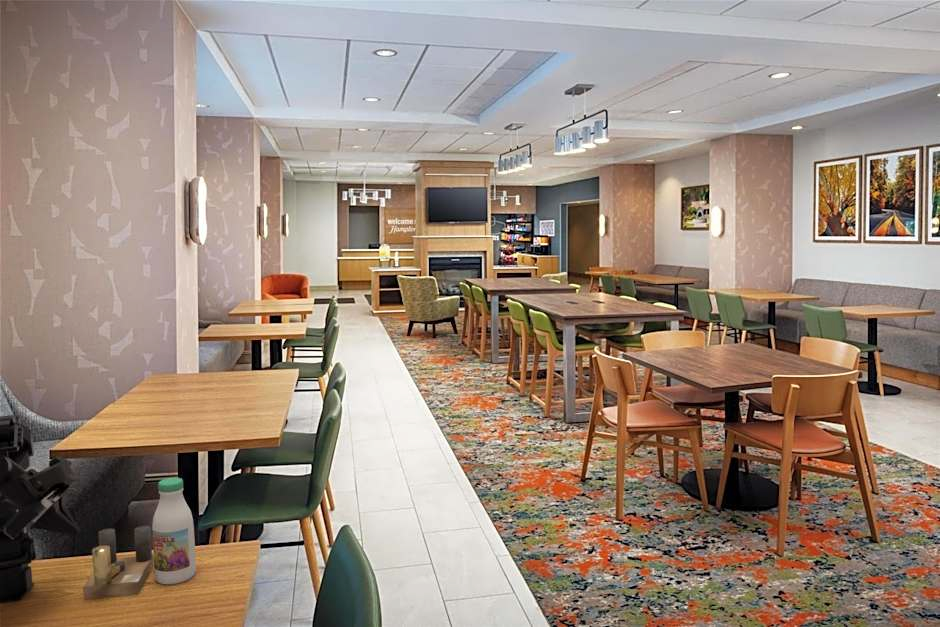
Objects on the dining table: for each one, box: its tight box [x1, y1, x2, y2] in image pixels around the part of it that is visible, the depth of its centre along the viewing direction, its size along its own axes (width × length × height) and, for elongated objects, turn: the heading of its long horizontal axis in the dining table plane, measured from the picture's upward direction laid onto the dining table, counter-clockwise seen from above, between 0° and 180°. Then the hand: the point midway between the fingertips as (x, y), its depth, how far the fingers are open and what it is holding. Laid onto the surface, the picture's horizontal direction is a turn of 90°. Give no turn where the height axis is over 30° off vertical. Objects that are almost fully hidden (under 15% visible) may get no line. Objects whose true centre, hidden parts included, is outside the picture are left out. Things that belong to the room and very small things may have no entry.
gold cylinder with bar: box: [91, 545, 120, 585], centre depth 136 cm, size 6×3×6 cm, turn 175°
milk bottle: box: [151, 477, 197, 585], centre depth 142 cm, size 8×8×20 cm
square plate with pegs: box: [82, 525, 154, 600], centre depth 140 cm, size 10×12×9 cm
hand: (77, 532), depth 133 cm, fingers closed
